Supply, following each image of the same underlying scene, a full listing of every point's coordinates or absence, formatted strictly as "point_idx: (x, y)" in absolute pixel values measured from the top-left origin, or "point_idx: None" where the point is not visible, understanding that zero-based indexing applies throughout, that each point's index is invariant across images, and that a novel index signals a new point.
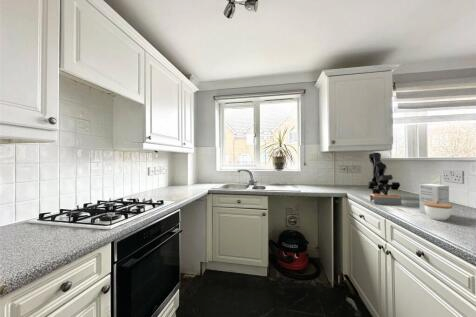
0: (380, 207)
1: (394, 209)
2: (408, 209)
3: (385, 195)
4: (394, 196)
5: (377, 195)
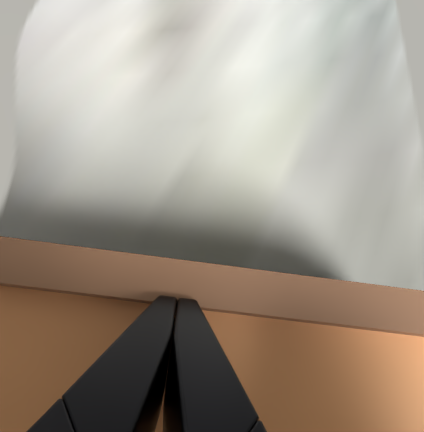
0: (359, 95)
1: (237, 18)
2: (60, 29)
3: (226, 268)
4: (4, 239)
5: (416, 295)
